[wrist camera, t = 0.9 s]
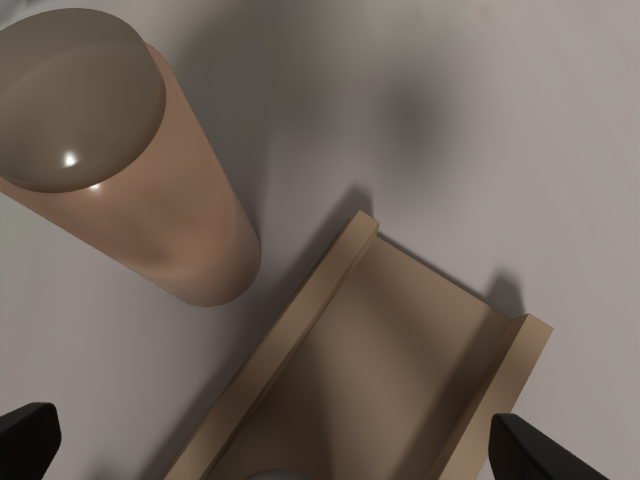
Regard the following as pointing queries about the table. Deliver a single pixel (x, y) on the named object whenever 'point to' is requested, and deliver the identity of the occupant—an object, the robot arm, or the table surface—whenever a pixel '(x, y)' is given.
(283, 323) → the wooden drawer
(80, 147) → the jar
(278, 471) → the blue jar
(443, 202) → the table surface
